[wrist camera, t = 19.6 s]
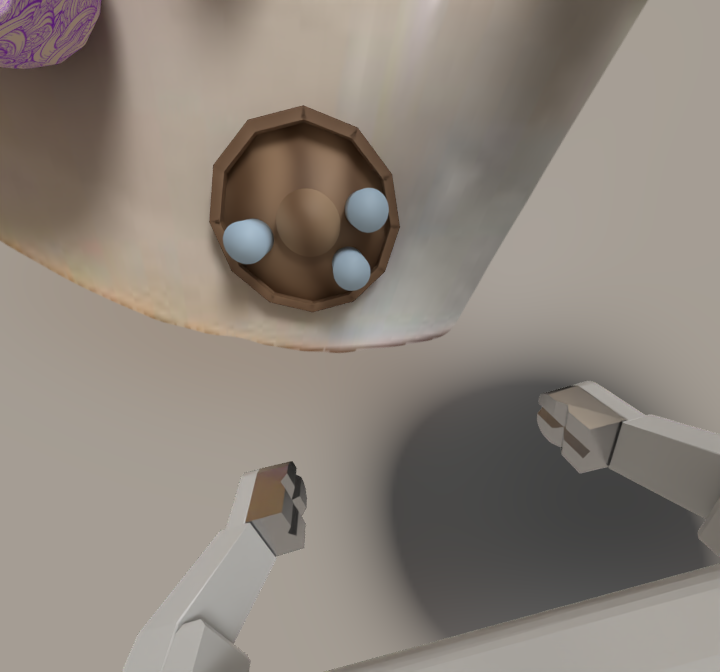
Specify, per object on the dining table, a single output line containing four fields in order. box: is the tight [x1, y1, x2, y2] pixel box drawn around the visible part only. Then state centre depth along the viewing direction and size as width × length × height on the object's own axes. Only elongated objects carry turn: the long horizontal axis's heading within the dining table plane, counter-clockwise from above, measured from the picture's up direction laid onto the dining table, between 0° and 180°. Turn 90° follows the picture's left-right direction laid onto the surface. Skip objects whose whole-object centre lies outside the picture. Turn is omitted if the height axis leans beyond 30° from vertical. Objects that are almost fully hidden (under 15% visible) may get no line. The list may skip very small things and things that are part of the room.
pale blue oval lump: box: [223, 219, 274, 264], centre depth 29 cm, size 4×4×5 cm
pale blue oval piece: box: [345, 188, 389, 233], centre depth 29 cm, size 4×4×5 cm
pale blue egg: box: [332, 247, 370, 291], centre depth 31 cm, size 4×4×5 cm
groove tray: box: [209, 105, 400, 312], centre depth 31 cm, size 20×20×2 cm
